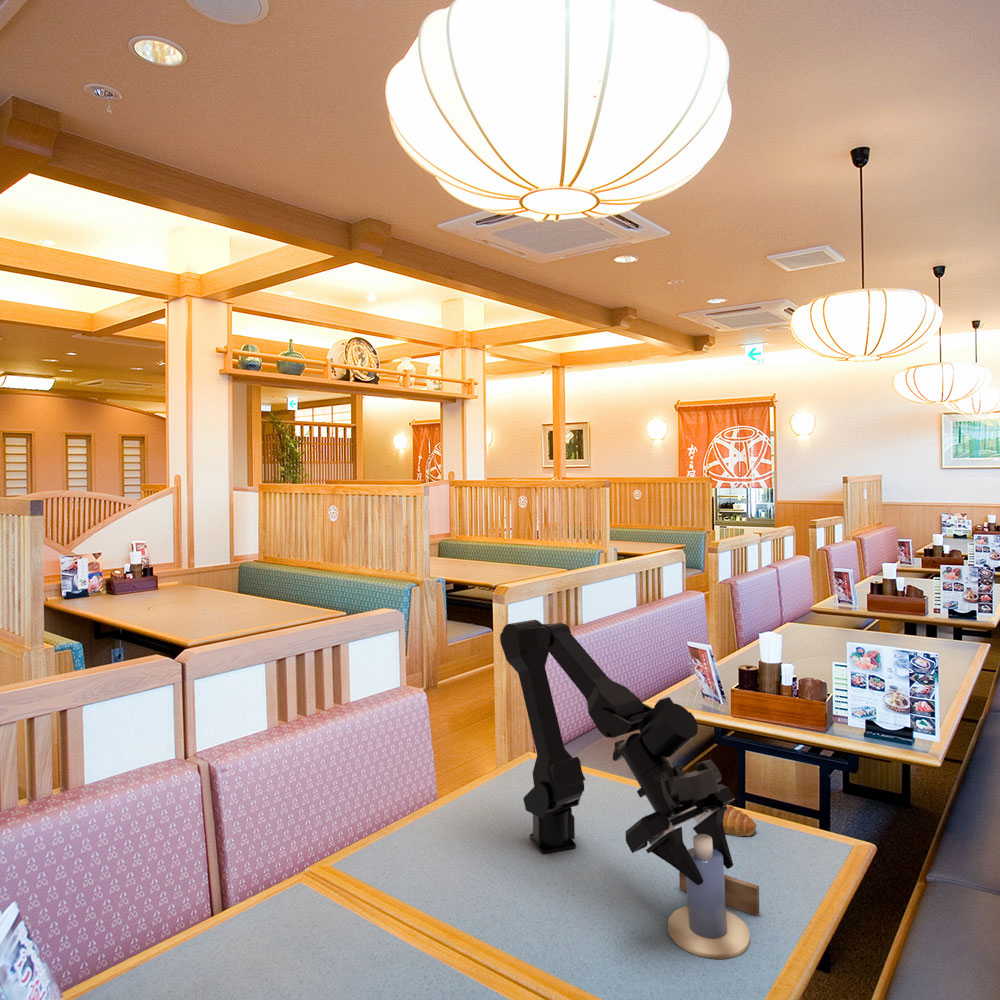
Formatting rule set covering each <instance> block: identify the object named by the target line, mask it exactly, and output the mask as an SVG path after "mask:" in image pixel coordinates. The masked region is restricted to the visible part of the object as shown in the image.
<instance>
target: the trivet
mask: <svg viewBox="0 0 1000 1000" xmlns="http://www.w3.org/2000/svg"><path fill="white" fill-rule="evenodd" d="M726 914H727V932H726V933H725V934H724V935H723V936H720V937H717V938H706V937H702V936H699V935H697V934H695V933H694V932H692V931H691V929H690V927H689V917H688V905H686V906H682V907H679V908H678V909H676V910H674V911H673V912H672V913H671V914H670V915H669V917H668V923H667V929H668V935H669V936H670V938H671V939H672V941H673V942H674V943H675V944H676V945H677V946H679V948H681V949H682V950H684V951H686V952H688V953H690V954H693V955H695V956H697V957H702V958H707V959H713V960H723V959H724V960H725V959H727V960H728V959H731V958H735V957H737V956H741V955H742V954H743V953H745V951H747V949H748V948H749V946H750V943H751V942H750V941H751V934H750V930H749V927H748V925H747V924H746V923H745V922H744V920H743V919H741V918H740V917H739V916H737V915H736V914H734V913H732V912H731V911H729V910H726Z"/></svg>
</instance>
